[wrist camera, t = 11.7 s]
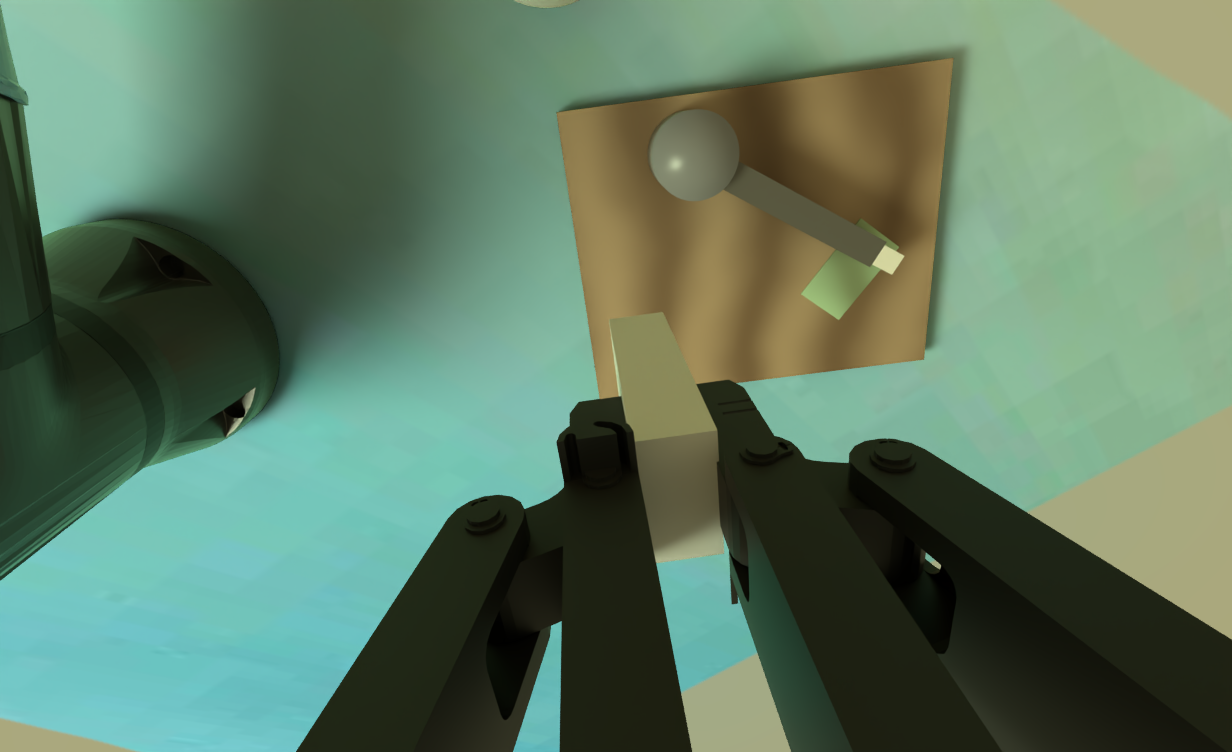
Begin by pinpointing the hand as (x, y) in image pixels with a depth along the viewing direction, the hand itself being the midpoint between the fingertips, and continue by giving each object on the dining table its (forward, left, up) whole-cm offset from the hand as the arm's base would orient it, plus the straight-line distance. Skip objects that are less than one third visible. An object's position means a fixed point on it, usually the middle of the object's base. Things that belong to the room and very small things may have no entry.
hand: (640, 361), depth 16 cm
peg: (+9, +1, -20) cm, 22 cm away
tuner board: (+8, -2, -22) cm, 23 cm away
